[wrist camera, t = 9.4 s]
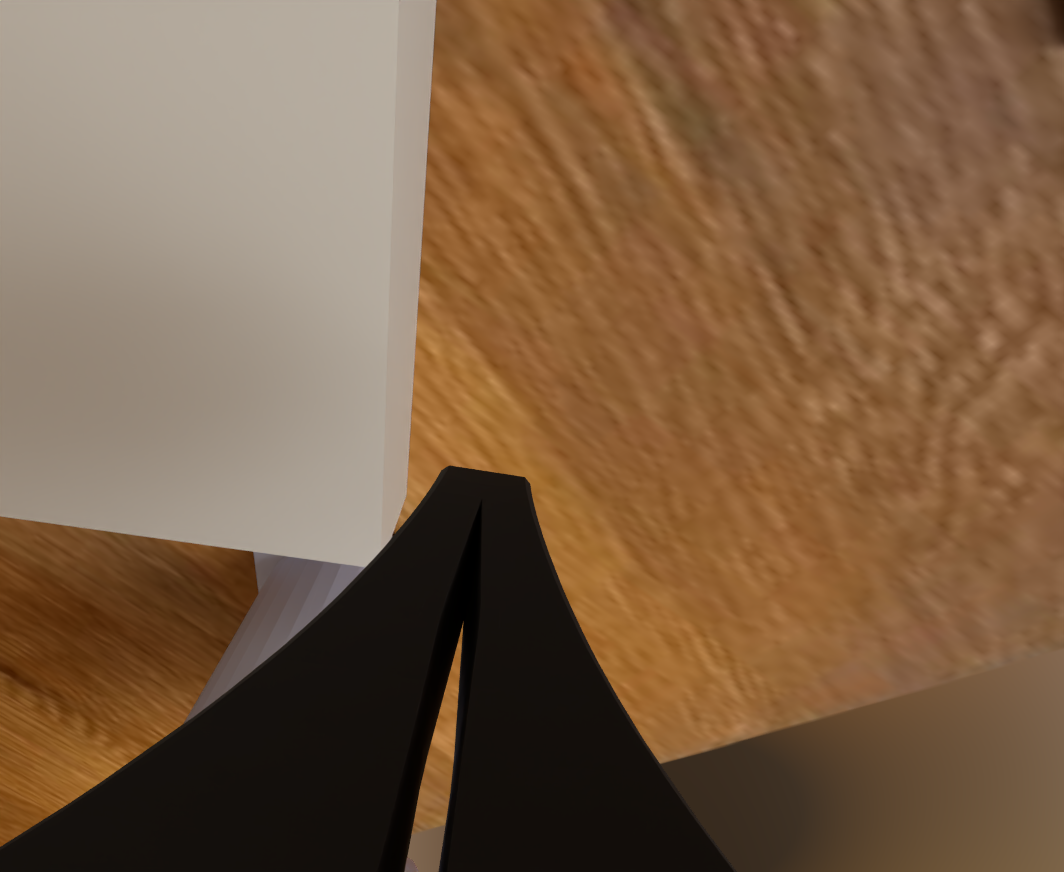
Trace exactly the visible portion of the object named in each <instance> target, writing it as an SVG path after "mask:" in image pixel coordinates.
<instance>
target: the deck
mask: <svg viewBox="0 0 1064 872" xmlns="http://www.w3.org/2000/svg"><path fill="white" fill-rule="evenodd" d="M435 13H436V0H0V516H2V517H9V518H16V519H23V520H30V521H38V522H45V523H52V524H59V525H66V526H73V527H81V528H88V529H95V530H102V531H109V532H116V533H124V534H131V535H138V536H145V537H152V538H159V539H166V540H174V541H181V542H188V543H195V544H202V545H209V546H217V547H224V548H231V549H238V550H245V551H252V552H260V553H267V554H274V555H281V556H288V557H295V558H303V559H310V560H317V561H324V562H331V563H338V564H346V565H353V566H360V567H366V566H367V565H368V564H369V563H370V562H371V561H372V560H373V559H374V558H375V557H376V556H377V555H378V553H379V552H380V551H381V550H382V549H383V548H384V547H385V545H386V544H387V543H388V542H389V541H390V540H391V537H392V534H393V532H394V529H395V526H396V523H397V520H398V518H399V515H400V512H401V509H402V506H403V503H404V501H405V498H406V493H407V476H408V460H409V443H410V427H411V410H412V393H413V377H414V360H415V344H416V327H417V311H418V294H419V278H420V261H421V245H422V228H423V212H424V195H425V179H426V162H427V146H428V129H429V113H430V96H431V80H432V63H433V47H434V30H435Z"/></svg>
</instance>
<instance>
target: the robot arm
mask: <svg viewBox="0 0 1064 872" xmlns="http://www.w3.org/2000/svg"><path fill="white" fill-rule="evenodd" d="M253 553H254V561H255V569H256V577H257V585H258V593H259V594H258V595H257V597H256V599H255V601H254V602H253V604H252V606H251V608H250V609H249V611H248V613H247V614H246V616H245V618H244V620H243V621H242V623H241V625H240V627H239V628H238V630H237V632H236V634H235V635H234V637H233V639H232V641H231V642H230V644H229V646H228V647H227V649H226V651H225V653H224V654H223V656H222V658H221V660H220V661H219V663H218V665H217V667H216V668H215V670H214V672H213V674H212V675H211V677H210V679H209V680H208V682H207V684H206V686H205V687H204V689H203V691H202V693H201V694H200V696H199V698H198V700H197V701H196V703H195V705H194V707H193V708H192V710H191V712H190V713H189V715H188V717H187V719H186V720H185V722H184V724H183V725H181V726H180V727H179V728H177V729H176V730H174V731H173V732H172V733H170V734H169V735H167V736H166V737H164V738H163V739H162V740H160V741H159V742H157V743H156V744H155V745H153V746H152V747H150V748H149V749H147V750H146V751H145V752H143V753H142V754H140V755H139V756H138V757H136V758H135V759H133V760H132V761H130V762H129V763H128V764H126V765H125V766H123V767H122V768H121V769H119V770H118V771H116V772H115V773H113V774H112V775H111V776H109V777H108V778H106V779H105V780H104V781H102V782H101V783H99V784H98V785H96V786H95V787H93V788H92V789H90V790H89V791H87V792H86V793H84V794H83V795H81V796H80V797H78V798H77V799H75V800H74V801H72V802H71V803H69V804H68V805H66V806H64V807H63V808H61V809H60V810H58V811H57V812H55V813H53V814H52V815H50V816H49V817H47V818H45V819H44V820H42V821H41V822H39V823H38V824H36V825H34V826H33V827H31V828H30V829H28V830H27V831H25V832H23V833H22V834H20V835H19V836H17V837H15V838H14V839H12V840H11V841H9V842H8V843H6V844H4V845H3V846H1V847H0V872H418V869H417V867H416V865H415V863H414V861H413V860H412V859H410V858H408V857H407V855H408V849H409V844H410V839H411V833H412V828H413V822H414V817H415V812H416V806H417V801H418V795H419V790H420V785H421V781H422V777H423V772H424V768H425V764H426V759H427V755H428V751H429V748H430V744H431V740H432V737H433V733H434V729H435V725H436V722H437V718H438V714H439V710H440V707H441V703H442V699H443V696H444V692H445V688H446V684H447V681H448V677H449V673H450V670H451V666H452V662H453V658H454V655H455V651H456V647H457V643H458V640H459V636H460V632H461V628H462V625H463V637H462V652H461V666H460V680H459V695H458V710H457V724H456V739H455V753H454V765H453V774H452V784H451V793H450V800H449V806H448V813H447V820H446V827H445V834H444V840H443V847H442V853H441V860H440V866H439V872H736V870H735V869H734V867H733V866H732V865H731V863H730V862H729V861H728V859H727V858H726V857H725V855H724V854H723V853H722V851H721V850H720V849H719V847H718V846H717V845H716V843H715V842H714V841H713V839H712V838H711V837H710V835H709V834H708V833H707V831H706V830H705V829H704V827H703V826H702V825H701V823H700V822H699V821H698V819H697V818H696V816H695V815H694V813H693V812H692V810H691V809H690V807H689V806H688V804H687V803H686V801H685V800H684V798H683V797H682V796H681V794H680V793H679V791H678V790H677V788H676V787H675V785H674V784H673V782H672V781H671V779H670V778H669V777H668V775H667V773H666V772H665V771H664V769H663V768H662V766H661V765H660V763H659V762H658V760H657V759H656V757H655V756H654V754H653V753H652V751H651V750H650V749H649V747H648V746H647V744H646V743H645V741H644V740H643V738H642V736H641V735H640V733H639V732H638V730H637V728H636V727H635V725H634V723H633V722H632V720H631V718H630V717H629V715H628V713H627V712H626V710H625V708H624V707H623V705H622V704H621V702H620V700H619V699H618V697H617V695H616V693H615V692H614V690H613V688H612V686H611V685H610V683H609V681H608V679H607V677H606V676H605V674H604V672H603V670H602V669H601V667H600V665H599V663H598V661H597V659H596V657H595V655H594V653H593V652H592V650H591V648H590V646H589V644H588V642H587V640H586V638H585V636H584V634H583V632H582V630H581V627H580V625H579V623H578V621H577V619H576V617H575V615H574V613H573V610H572V608H571V606H570V604H569V602H568V599H567V597H566V595H565V592H564V590H563V588H562V585H561V583H560V580H559V578H558V575H557V573H556V570H555V568H554V565H553V562H552V560H551V557H550V555H549V552H548V549H547V546H546V544H545V541H544V538H543V535H542V531H541V528H540V525H539V522H538V518H537V515H536V511H535V507H534V503H533V498H532V493H531V486H530V483H529V482H528V481H527V479H526V478H525V477H520V476H514V475H507V474H501V473H494V472H488V471H481V470H475V469H468V468H462V467H455V466H448V467H446V468H445V469H443V470H441V472H440V474H439V476H438V478H437V479H436V481H435V482H434V484H433V485H432V487H431V489H430V490H429V491H428V493H427V494H426V496H425V497H424V498H423V500H422V501H421V503H420V504H419V505H418V506H417V508H416V509H415V510H414V512H413V513H412V514H411V516H410V517H409V518H408V519H407V521H406V522H405V523H404V524H403V525H402V527H401V528H400V529H399V530H398V531H397V532H396V534H395V535H394V536H392V537H391V540H390V541H389V542H388V543H387V544H386V545H385V547H384V548H383V549H382V550H381V551H380V552H379V553H378V555H377V556H376V557H375V558H374V559H373V560H372V561H371V562H370V563H369V564H368V565H367V566H366V567H360V566H353V565H346V564H338V563H331V562H324V561H317V560H310V559H303V558H295V557H288V556H281V555H274V554H267V553H260V552H253ZM463 621H464V623H463Z"/></svg>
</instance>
